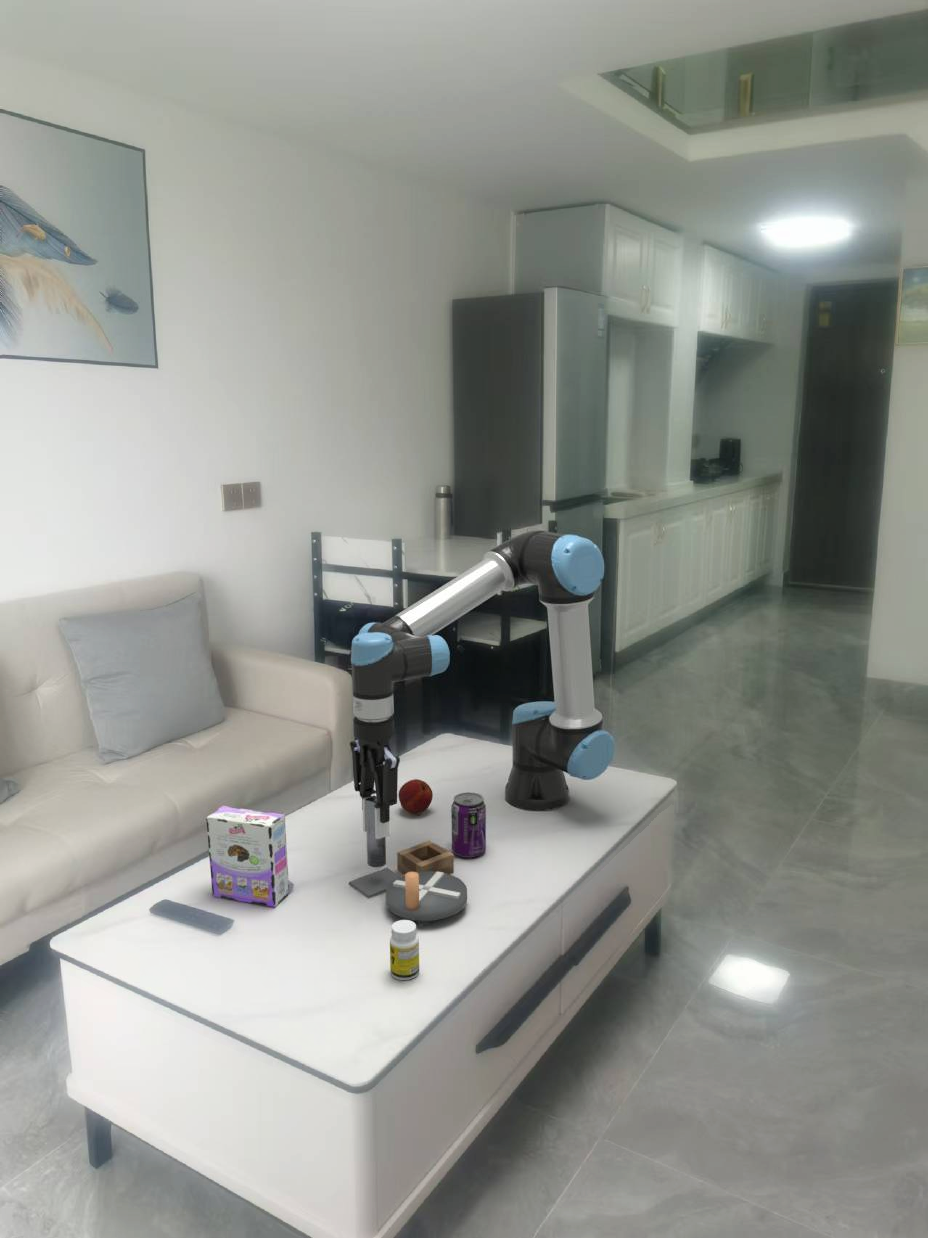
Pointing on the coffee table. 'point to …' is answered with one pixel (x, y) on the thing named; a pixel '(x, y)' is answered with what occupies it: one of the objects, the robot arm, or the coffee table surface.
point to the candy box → (248, 855)
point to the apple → (415, 796)
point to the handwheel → (426, 895)
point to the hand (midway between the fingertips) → (376, 832)
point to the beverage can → (468, 825)
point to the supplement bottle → (404, 950)
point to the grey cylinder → (374, 846)
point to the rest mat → (374, 882)
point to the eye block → (425, 859)
